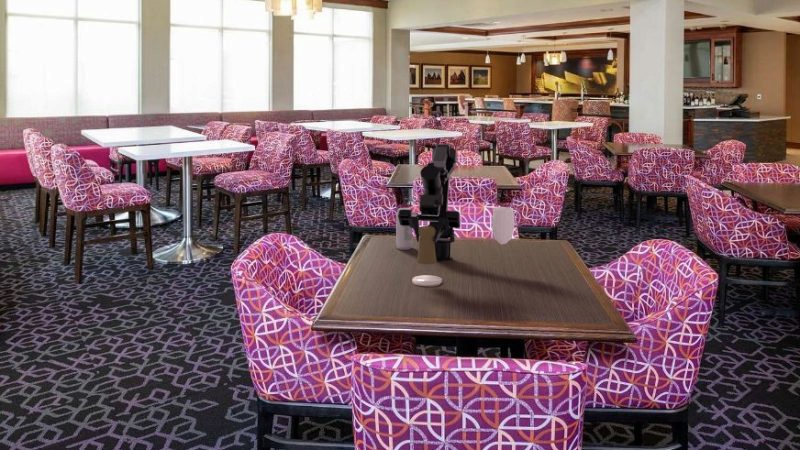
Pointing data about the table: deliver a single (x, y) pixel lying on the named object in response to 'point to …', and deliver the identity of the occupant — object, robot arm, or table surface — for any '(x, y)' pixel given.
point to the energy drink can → (403, 234)
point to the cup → (503, 224)
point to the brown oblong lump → (426, 245)
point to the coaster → (427, 280)
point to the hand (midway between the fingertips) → (426, 241)
